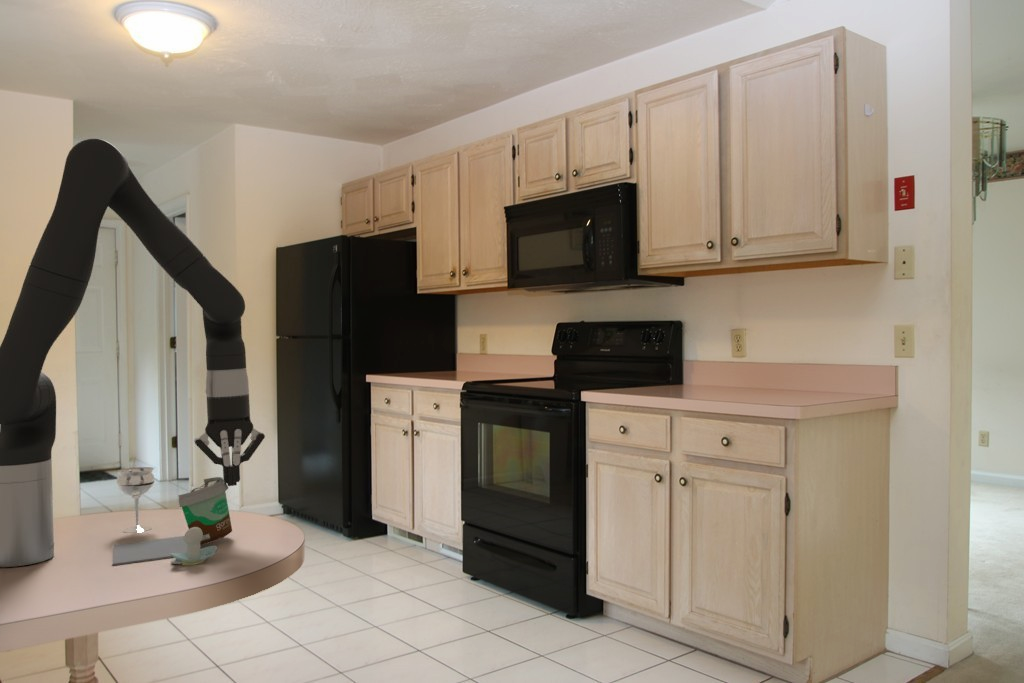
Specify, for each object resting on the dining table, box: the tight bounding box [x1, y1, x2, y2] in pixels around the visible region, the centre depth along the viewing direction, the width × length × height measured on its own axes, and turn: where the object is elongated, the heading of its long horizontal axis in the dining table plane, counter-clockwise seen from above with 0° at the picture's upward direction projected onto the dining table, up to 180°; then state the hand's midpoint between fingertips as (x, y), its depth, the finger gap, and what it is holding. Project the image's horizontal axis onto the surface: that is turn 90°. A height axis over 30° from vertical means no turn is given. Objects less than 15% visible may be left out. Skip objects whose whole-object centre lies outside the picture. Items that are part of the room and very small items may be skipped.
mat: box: [112, 535, 187, 566], centre depth 140 cm, size 14×14×1 cm
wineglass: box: [116, 466, 155, 534], centre depth 156 cm, size 7×7×12 cm
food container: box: [177, 476, 233, 546], centre depth 144 cm, size 12×6×10 cm, turn 179°
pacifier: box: [169, 527, 217, 566], centre depth 132 cm, size 7×6×6 cm
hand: (232, 485), depth 146 cm, fingers closed
